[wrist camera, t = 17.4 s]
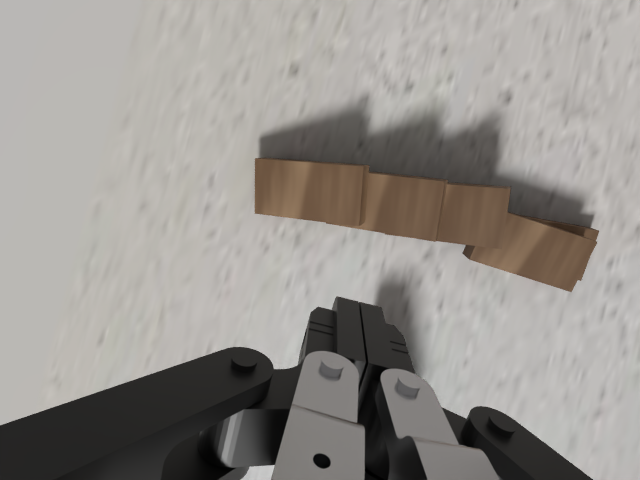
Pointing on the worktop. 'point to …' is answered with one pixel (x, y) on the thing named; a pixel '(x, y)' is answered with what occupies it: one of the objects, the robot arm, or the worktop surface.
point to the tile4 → (404, 205)
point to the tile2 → (537, 252)
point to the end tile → (311, 190)
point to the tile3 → (474, 215)
